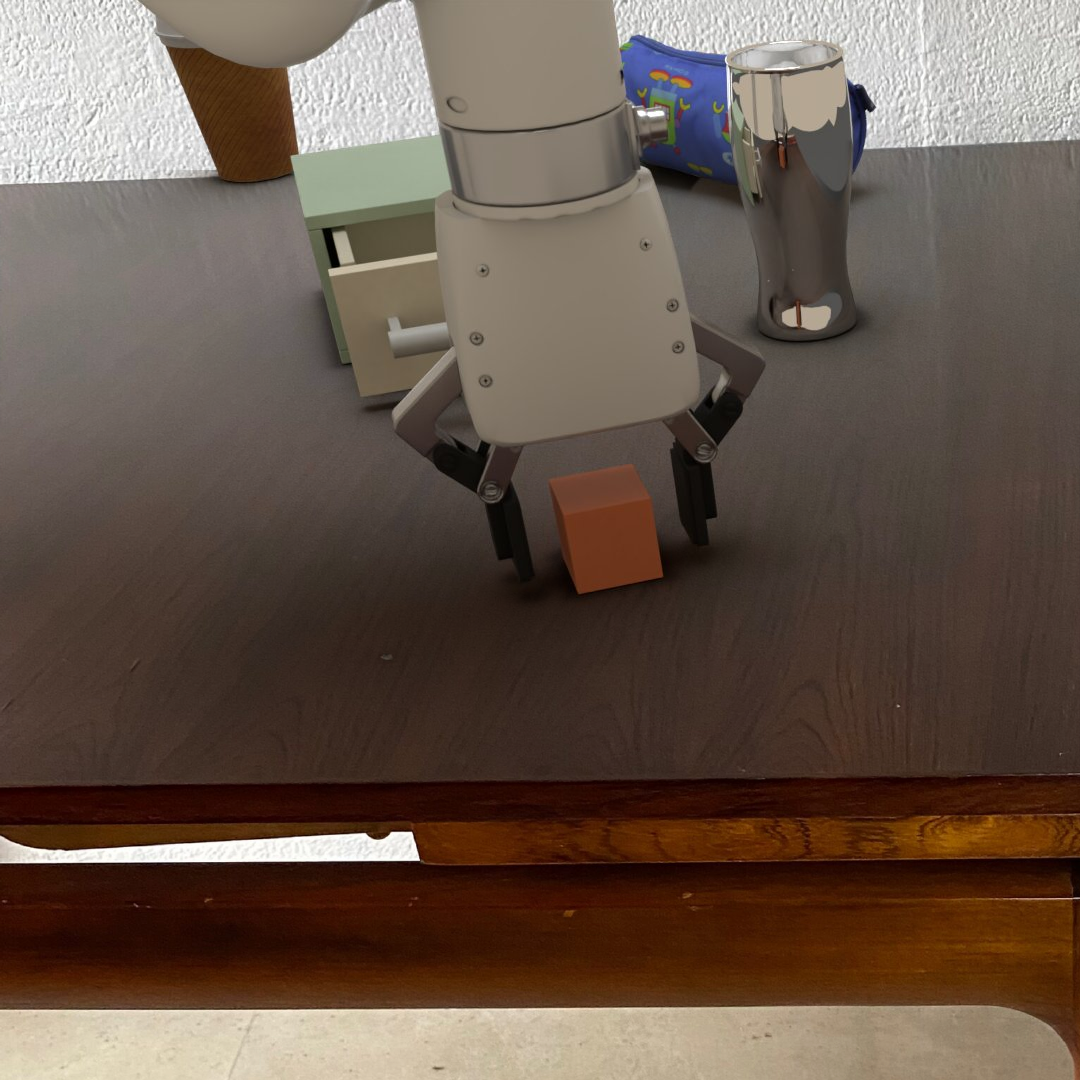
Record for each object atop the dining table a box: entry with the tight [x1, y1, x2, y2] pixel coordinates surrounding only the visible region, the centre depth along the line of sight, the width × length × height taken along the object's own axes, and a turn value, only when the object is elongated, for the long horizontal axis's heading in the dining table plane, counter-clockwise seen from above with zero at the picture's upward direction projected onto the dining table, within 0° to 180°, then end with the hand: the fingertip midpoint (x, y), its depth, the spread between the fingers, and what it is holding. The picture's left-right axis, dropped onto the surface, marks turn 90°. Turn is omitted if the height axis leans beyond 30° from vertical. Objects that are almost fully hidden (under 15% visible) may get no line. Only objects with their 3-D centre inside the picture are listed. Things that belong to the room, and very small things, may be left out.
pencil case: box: [619, 34, 877, 186], centre depth 125 cm, size 22×9×10 cm, turn 49°
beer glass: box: [725, 39, 858, 342], centre depth 100 cm, size 7×7×15 cm
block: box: [547, 463, 664, 595], centre depth 80 cm, size 4×4×4 cm
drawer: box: [328, 212, 451, 398], centre depth 99 cm, size 17×10×7 cm, turn 19°
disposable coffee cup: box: [153, 15, 300, 183], centre depth 133 cm, size 10×10×12 cm
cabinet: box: [291, 134, 451, 365], centre depth 107 cm, size 14×12×9 cm
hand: (609, 549), depth 81 cm, fingers open, 7 cm apart
